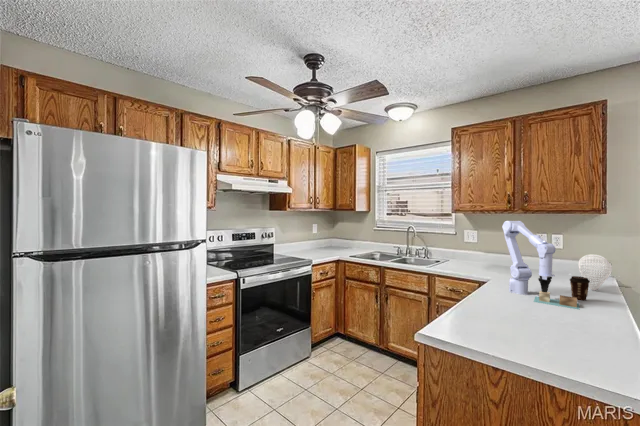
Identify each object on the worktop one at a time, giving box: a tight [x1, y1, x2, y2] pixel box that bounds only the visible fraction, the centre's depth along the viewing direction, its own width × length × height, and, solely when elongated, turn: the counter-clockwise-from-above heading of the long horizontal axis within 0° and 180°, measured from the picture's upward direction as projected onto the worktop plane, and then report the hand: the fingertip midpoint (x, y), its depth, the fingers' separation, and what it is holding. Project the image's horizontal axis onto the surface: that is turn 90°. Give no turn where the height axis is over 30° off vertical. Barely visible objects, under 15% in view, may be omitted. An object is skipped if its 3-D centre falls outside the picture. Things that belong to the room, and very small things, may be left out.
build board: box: [533, 296, 580, 310], centre depth 166 cm, size 19×14×1 cm
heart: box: [578, 253, 613, 291], centre depth 198 cm, size 28×16×22 cm, turn 140°
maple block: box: [538, 290, 551, 302], centre depth 169 cm, size 4×4×4 cm
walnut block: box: [559, 295, 578, 307], centre depth 163 cm, size 7×7×4 cm
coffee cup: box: [569, 275, 591, 302], centre depth 174 cm, size 9×8×13 cm
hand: (544, 290), depth 169 cm, fingers open, 7 cm apart
